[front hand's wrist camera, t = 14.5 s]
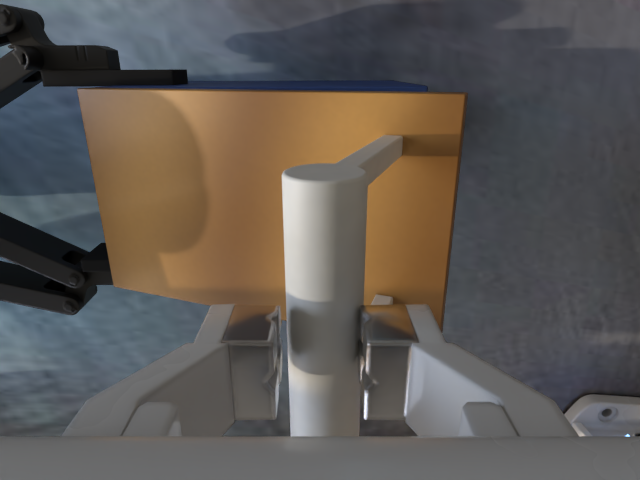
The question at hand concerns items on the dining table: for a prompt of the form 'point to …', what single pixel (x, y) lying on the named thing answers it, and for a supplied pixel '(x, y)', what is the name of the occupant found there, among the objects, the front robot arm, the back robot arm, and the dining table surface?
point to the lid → (282, 212)
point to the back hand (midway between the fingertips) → (190, 173)
